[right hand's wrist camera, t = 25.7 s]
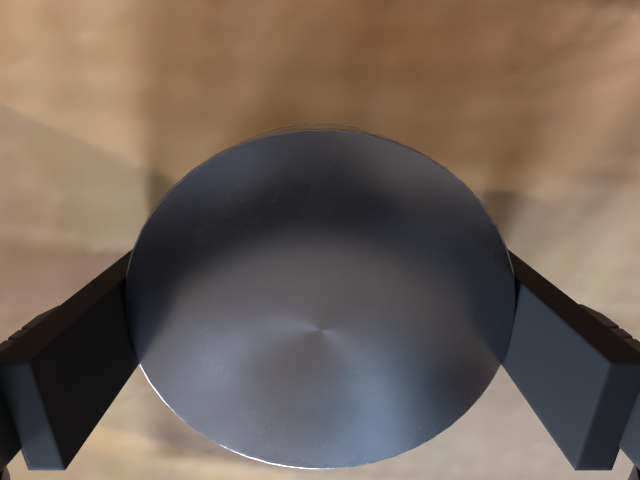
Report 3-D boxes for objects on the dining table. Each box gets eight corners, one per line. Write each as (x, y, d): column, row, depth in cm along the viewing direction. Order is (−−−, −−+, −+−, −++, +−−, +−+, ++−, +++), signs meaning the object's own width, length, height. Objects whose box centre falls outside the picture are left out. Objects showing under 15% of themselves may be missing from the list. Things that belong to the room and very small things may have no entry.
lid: (498, 108, 10) (541, 110, 8) (472, 409, 14) (497, 460, 12) (118, 138, 10) (71, 147, 8) (191, 425, 14) (170, 478, 12)
